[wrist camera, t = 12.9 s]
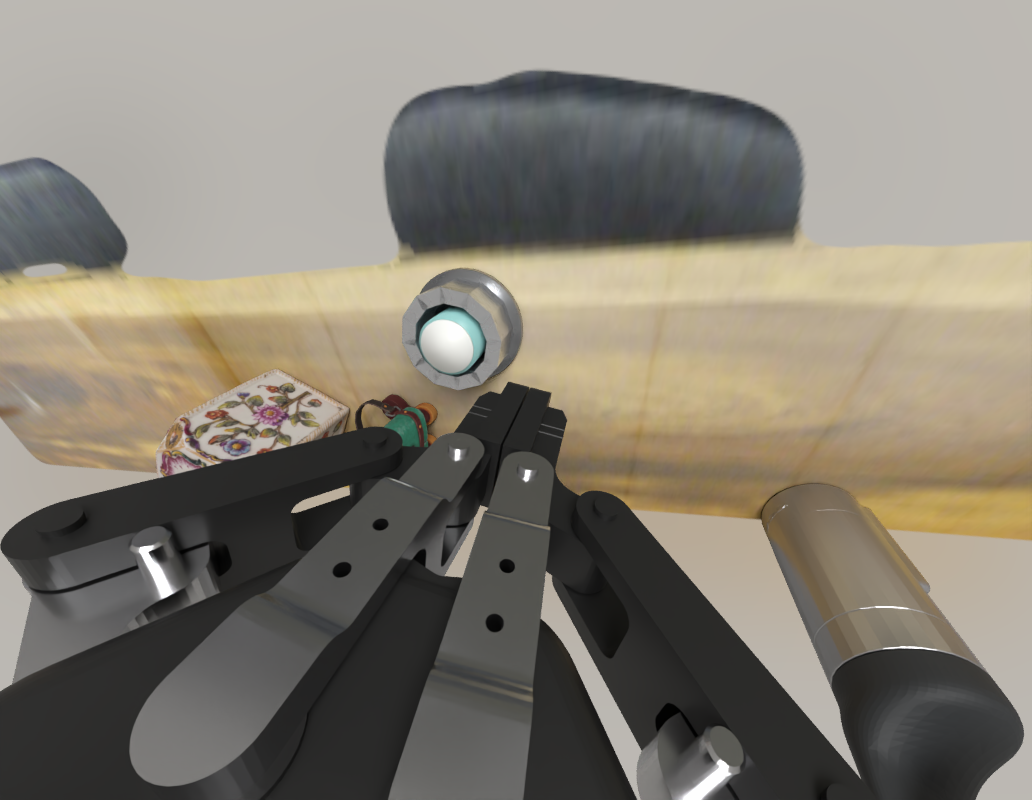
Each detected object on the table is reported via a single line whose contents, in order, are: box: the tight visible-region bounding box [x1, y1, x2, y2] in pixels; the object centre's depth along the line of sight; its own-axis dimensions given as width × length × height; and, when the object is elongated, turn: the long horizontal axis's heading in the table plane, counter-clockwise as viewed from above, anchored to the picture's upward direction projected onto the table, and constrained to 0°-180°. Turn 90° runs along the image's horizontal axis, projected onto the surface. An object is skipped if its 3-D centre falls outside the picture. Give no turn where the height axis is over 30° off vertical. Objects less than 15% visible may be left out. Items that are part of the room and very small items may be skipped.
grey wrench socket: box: [402, 268, 523, 390], centre depth 39 cm, size 12×12×5 cm
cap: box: [419, 305, 487, 375], centre depth 39 cm, size 6×6×6 cm
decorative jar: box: [156, 369, 349, 478], centre depth 46 cm, size 12×12×18 cm
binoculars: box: [355, 395, 437, 447], centre depth 46 cm, size 9×11×10 cm
